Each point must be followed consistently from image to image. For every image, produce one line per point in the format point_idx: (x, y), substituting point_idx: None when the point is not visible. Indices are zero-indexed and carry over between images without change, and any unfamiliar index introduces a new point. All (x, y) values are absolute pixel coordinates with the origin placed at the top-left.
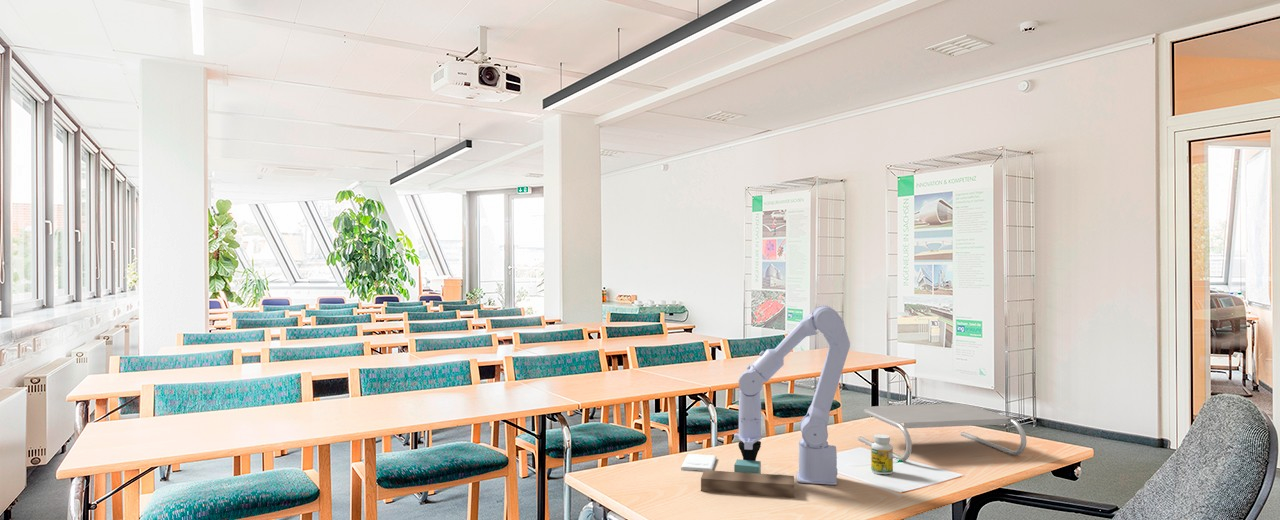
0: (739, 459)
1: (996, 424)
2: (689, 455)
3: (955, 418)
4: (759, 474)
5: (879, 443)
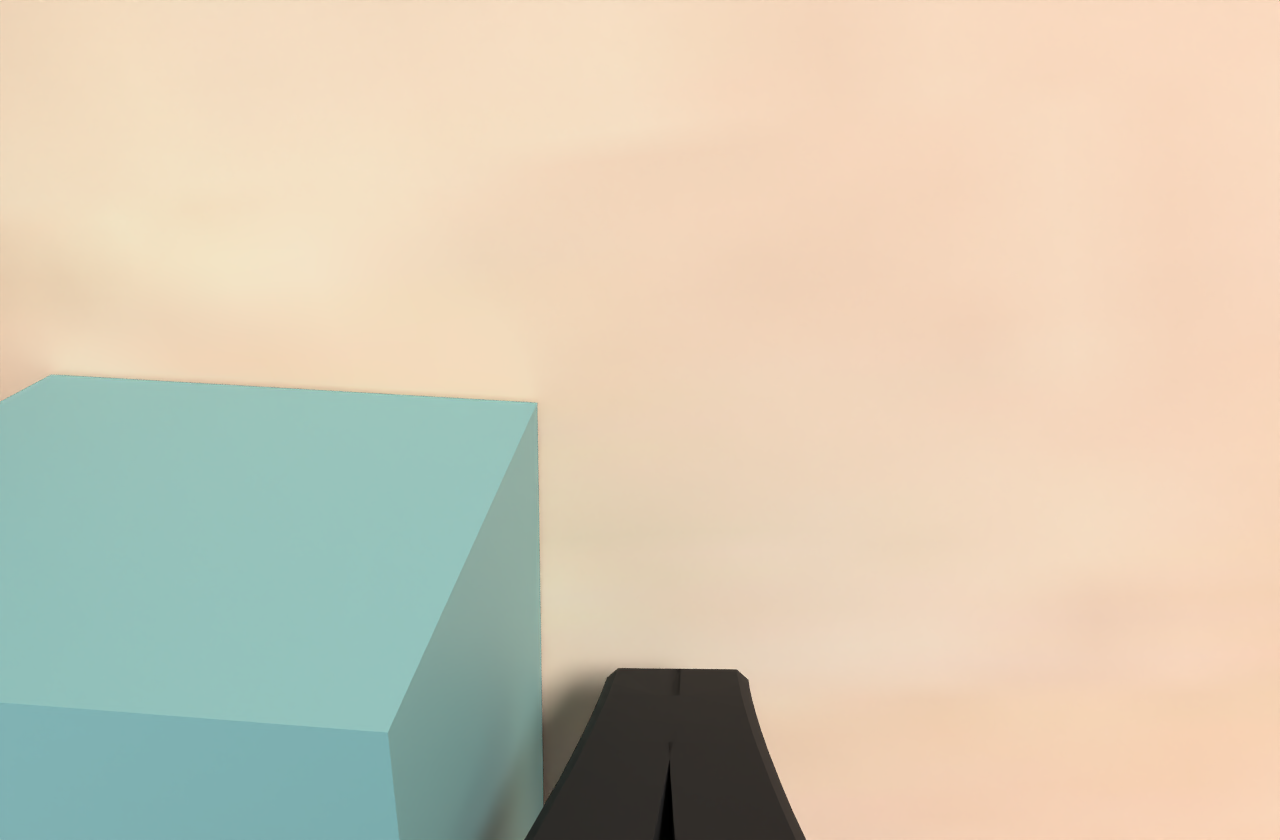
0: (388, 815)
1: None
2: None
3: None
4: None
5: None
